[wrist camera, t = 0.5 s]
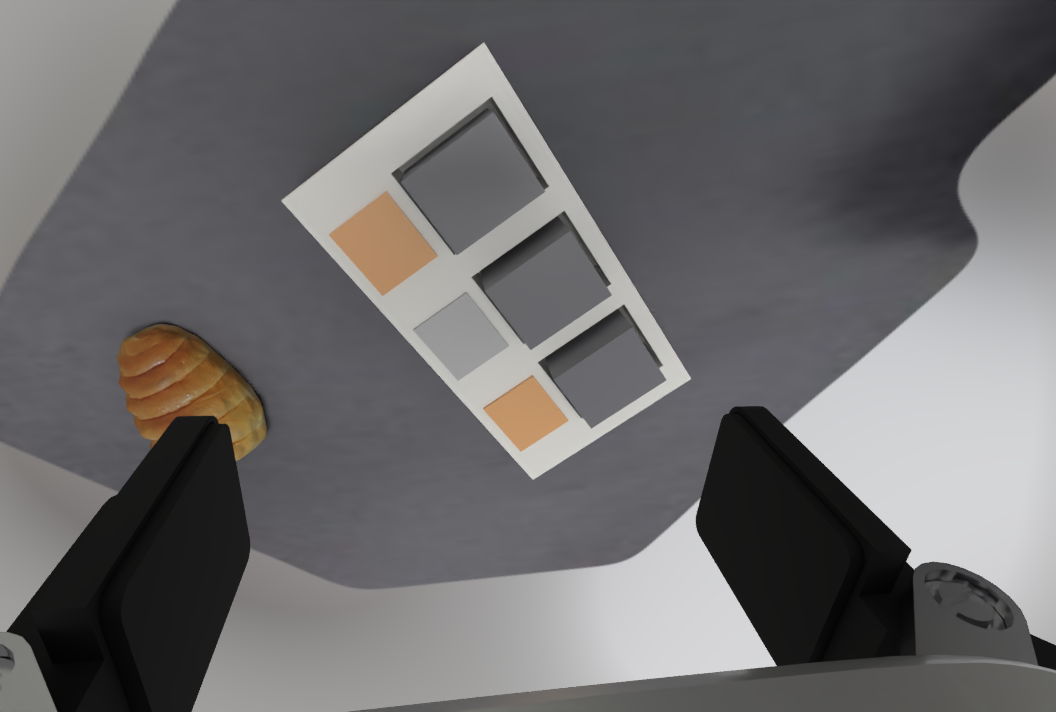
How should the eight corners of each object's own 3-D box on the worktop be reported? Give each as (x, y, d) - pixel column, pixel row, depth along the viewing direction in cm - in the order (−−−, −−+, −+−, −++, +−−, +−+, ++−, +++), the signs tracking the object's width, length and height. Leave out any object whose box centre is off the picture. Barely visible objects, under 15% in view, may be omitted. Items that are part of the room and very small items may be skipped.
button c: (613, 303, 34) (632, 326, 30) (645, 352, 36) (666, 380, 32) (542, 351, 34) (553, 379, 31) (577, 397, 36) (591, 428, 33)
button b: (556, 214, 31) (570, 230, 28) (594, 273, 33) (612, 295, 29) (479, 269, 32) (484, 291, 28) (521, 324, 33) (530, 350, 30)
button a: (486, 107, 28) (493, 111, 25) (533, 179, 30) (545, 191, 27) (404, 170, 29) (400, 182, 25) (454, 236, 30) (457, 255, 27)
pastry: (97, 343, 33) (59, 373, 30) (203, 302, 33) (177, 327, 30) (191, 460, 38) (168, 498, 34) (285, 424, 38) (271, 458, 34)
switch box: (477, 46, 29) (484, 42, 25) (664, 348, 39) (692, 380, 35) (300, 184, 31) (280, 201, 27) (523, 440, 41) (533, 481, 36)
